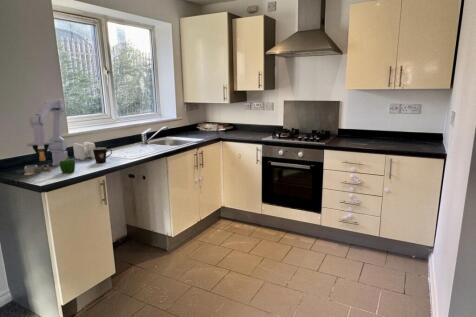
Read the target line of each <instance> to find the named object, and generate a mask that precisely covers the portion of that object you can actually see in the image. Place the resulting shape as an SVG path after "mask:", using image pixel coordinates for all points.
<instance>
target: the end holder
mask: <svg viewBox="0 0 476 317" xmlns="http://www.w3.org/2000/svg"><path fill="white" fill-rule="evenodd" d="M36 167H38V164H34V165H33V164H32V165H25V166H24V174H25V173H30V172H35V170H34V169H35V168H36Z"/></svg>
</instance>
